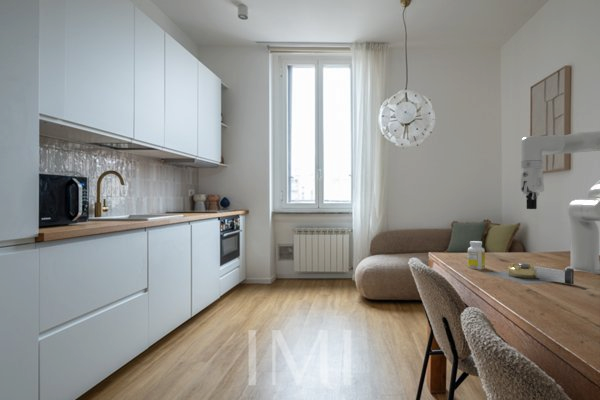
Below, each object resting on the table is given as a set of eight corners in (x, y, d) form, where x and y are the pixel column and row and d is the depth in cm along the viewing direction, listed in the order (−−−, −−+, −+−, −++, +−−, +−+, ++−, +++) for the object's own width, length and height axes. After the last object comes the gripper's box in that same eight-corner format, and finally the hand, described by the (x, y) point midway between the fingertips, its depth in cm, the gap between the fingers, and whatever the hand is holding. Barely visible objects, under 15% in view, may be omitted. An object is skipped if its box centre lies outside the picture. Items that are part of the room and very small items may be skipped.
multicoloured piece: (503, 274, 137) (503, 261, 137) (516, 272, 142) (516, 259, 142) (566, 286, 119) (566, 270, 119) (579, 282, 124) (580, 267, 124)
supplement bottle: (481, 269, 155) (481, 240, 155) (487, 273, 149) (487, 242, 149) (465, 269, 156) (465, 240, 156) (471, 272, 149) (471, 242, 149)
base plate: (521, 273, 147) (522, 269, 147) (569, 284, 128) (569, 280, 128) (482, 276, 142) (482, 272, 142) (525, 288, 123) (525, 283, 123)
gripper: (531, 164, 141) (531, 209, 142) (550, 165, 149) (550, 208, 149) (512, 165, 148) (512, 209, 148) (531, 167, 156) (531, 208, 156)
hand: (531, 208), depth 149 cm, fingers closed
